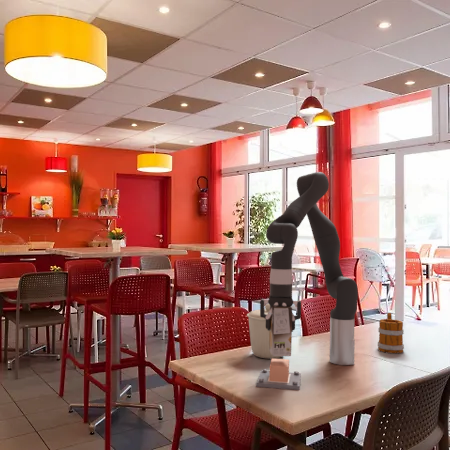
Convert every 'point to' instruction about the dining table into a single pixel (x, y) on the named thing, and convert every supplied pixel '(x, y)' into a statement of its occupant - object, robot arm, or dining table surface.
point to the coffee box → (280, 331)
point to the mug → (390, 335)
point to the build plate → (291, 384)
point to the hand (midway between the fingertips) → (280, 330)
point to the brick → (279, 370)
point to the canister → (259, 334)
